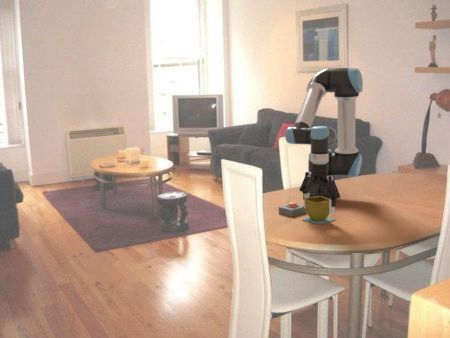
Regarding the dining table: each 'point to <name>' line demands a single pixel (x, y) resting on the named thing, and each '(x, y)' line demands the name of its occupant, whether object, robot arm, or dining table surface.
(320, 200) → the flower pot
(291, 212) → the housing
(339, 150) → the robot arm
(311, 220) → the pad
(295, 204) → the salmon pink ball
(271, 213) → the dining table surface
